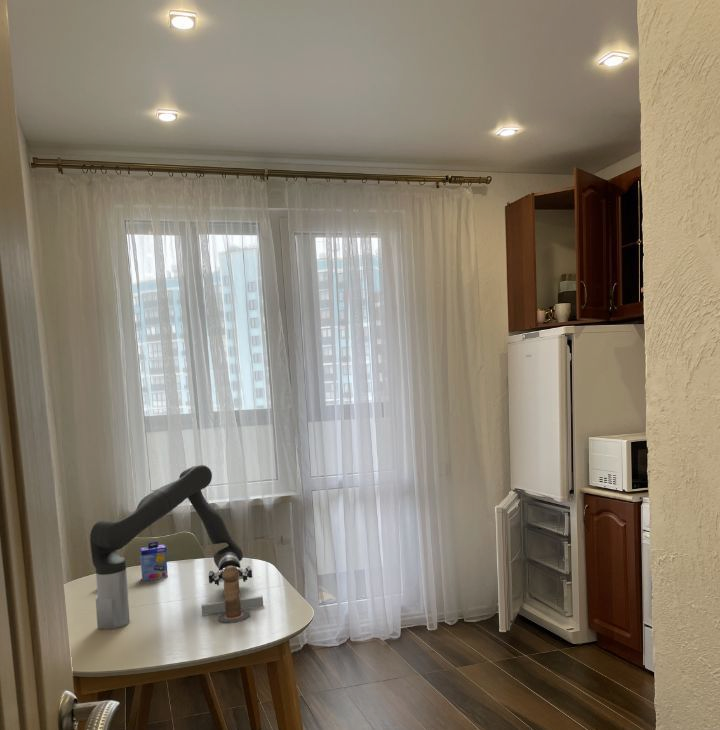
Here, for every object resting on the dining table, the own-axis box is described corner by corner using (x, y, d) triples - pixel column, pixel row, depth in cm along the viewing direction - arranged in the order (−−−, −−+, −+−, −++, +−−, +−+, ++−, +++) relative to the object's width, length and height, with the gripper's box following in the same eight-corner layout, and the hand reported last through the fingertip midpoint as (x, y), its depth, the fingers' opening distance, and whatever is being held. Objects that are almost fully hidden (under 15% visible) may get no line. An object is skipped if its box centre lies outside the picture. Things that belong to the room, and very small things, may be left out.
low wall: (263, 604, 225) (262, 595, 225) (263, 606, 224) (262, 597, 224) (201, 613, 221) (201, 604, 221) (201, 615, 219) (201, 605, 219)
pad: (240, 623, 209) (240, 621, 209) (212, 622, 212) (212, 620, 212) (255, 612, 218) (254, 610, 218) (227, 611, 221) (227, 609, 221)
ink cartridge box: (142, 581, 264) (140, 544, 265) (141, 578, 269) (138, 542, 270) (168, 577, 269) (166, 540, 269) (166, 573, 274) (164, 538, 274)
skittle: (237, 618, 212) (233, 568, 212) (221, 617, 213) (218, 568, 214) (245, 612, 217) (241, 563, 217) (230, 612, 219) (226, 563, 219)
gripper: (208, 559, 234) (208, 571, 218) (249, 554, 237) (252, 566, 221) (209, 581, 234) (209, 595, 218) (250, 575, 237) (254, 588, 221)
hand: (231, 580), depth 219 cm, fingers open, 8 cm apart
